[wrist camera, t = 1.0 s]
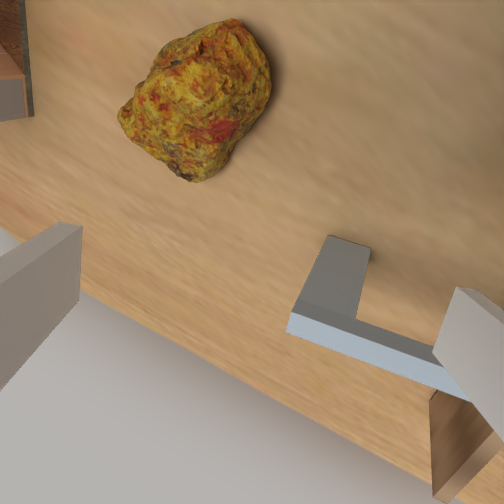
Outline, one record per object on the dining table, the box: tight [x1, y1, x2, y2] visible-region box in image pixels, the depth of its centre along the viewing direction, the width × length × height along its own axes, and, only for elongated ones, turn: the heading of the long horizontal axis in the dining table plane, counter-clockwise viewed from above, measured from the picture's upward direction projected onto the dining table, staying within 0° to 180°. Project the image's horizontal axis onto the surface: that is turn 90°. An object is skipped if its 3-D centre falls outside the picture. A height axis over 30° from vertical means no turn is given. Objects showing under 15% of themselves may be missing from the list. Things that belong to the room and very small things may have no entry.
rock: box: [117, 19, 272, 183], centre depth 29 cm, size 11×8×10 cm
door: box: [429, 390, 504, 504], centre depth 29 cm, size 10×2×9 cm, turn 164°
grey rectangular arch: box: [286, 235, 471, 402], centre depth 26 cm, size 18×2×12 cm, turn 79°
